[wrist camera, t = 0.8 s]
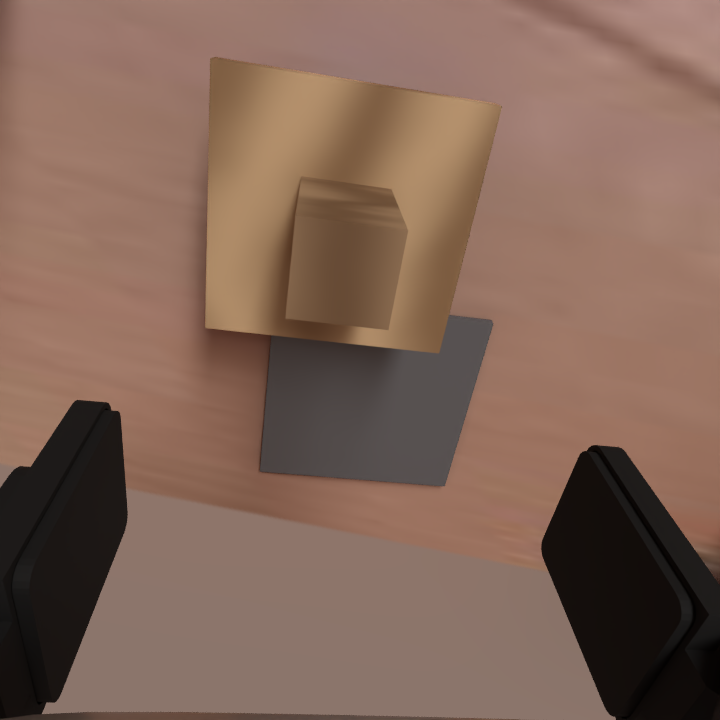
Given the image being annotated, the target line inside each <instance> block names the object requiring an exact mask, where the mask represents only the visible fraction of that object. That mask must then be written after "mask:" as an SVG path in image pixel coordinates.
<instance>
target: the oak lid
mask: <svg viewBox="0 0 720 720" xmlns="http://www.w3.org/2000/svg"><path fill="white" fill-rule="evenodd" d="M501 108H502V106H500V105H497V104H495V103H490V102H484V101H478V100H472V99H466V98H460V97H454V96H448V95H442V94H436V93H430V92H424V91H418V90H412V89H406V88H399V87H393V86H387V85H381V84H375V83H369V82H363V81H357V80H351V79H345V78H339V77H333V76H327V75H321V74H315V73H309V72H303V71H297V70H291V69H285V68H279V67H273V66H267V65H261V64H255V63H249V62H243V61H237V60H230V59H224V58H218V57H214V58H210V103H209V154H208V206H207V257H206V308H205V328H210V329H219V330H228V331H238V332H247V333H256V334H265V335H274V336H283V337H293V338H302V339H311V340H320V341H329V342H338V343H348V344H357V345H366V346H375V347H384V348H393V349H403V350H412V351H421V352H430V353H439V352H440V348H441V344H442V340H443V336H444V333H445V329H446V325H447V321H448V317H449V313H450V309H451V305H452V301H453V297H454V293H455V289H456V285H457V281H458V277H459V274H460V270H461V266H462V262H463V258H464V254H465V250H466V246H467V242H468V238H469V234H470V230H471V226H472V222H473V218H474V215H475V211H476V207H477V203H478V199H479V195H480V191H481V187H482V183H483V179H484V175H485V171H486V167H487V163H488V159H489V156H490V152H491V148H492V144H493V140H494V136H495V132H496V128H497V124H498V120H499V116H500V112H501Z"/></svg>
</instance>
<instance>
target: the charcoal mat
mask: <svg viewBox="0 0 720 720" xmlns="http://www.w3.org/2000/svg"><path fill="white" fill-rule="evenodd" d="M492 326H493V322H492V320H486V319H477V318H469V317H460V316H452V315H449V317H448V321H447V325H446V329H445V333H444V336H443V340H442V344H441V348H440V352H439V353H430V352H421V351H412V350H403V349H393V348H384V347H375V346H366V345H357V344H348V343H338V342H329V341H320V340H311V339H302V338H293V337H283V336H274V335H271V346H270V358H269V370H268V381H267V393H266V405H265V417H264V429H263V440H262V452H261V464H260V472H272V473H284V474H297V475H309V476H322V477H334V478H347V479H359V480H372V481H384V482H396V483H409V484H421V485H434V486H445V483H446V480H447V477H448V473H449V470H450V467H451V463H452V460H453V457H454V453H455V450H456V447H457V443H458V440H459V437H460V433H461V430H462V426H463V423H464V420H465V416H466V413H467V410H468V406H469V403H470V400H471V396H472V393H473V390H474V386H475V383H476V380H477V376H478V373H479V370H480V366H481V363H482V360H483V356H484V353H485V350H486V346H487V343H488V340H489V336H490V333H491V330H492Z"/></svg>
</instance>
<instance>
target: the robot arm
mask: <svg viewBox="0 0 720 720" xmlns="http://www.w3.org/2000/svg"><path fill="white" fill-rule="evenodd" d="M127 515H128V514H127V498H126V484H125V470H124V457H123V443H122V429H121V417H120V413H119V412H118V411H111V407H110V405H109V403H106V402H95V401H83V400H76V401H75V402H74V403H73V404H72V405H71V407H70V408H69V410H68V411H67V413H66V414H65V416H64V418H63V419H62V421H61V422H60V424H59V425H58V427H57V428H56V430H55V431H54V433H53V434H52V436H51V437H50V439H49V440H48V442H47V443H46V445H45V446H44V448H43V449H42V451H41V452H40V454H39V455H38V457H37V458H36V460H35V461H34V463H33V464H32V466H31V467H24V466H20V467H18V468H16V469H14V470H13V472H12V473H11V474H10V475H9V476H8V478H7V480H6V481H5V482H4V484H3V485H2V486H1V488H0V720H518V719H482V718H441V717H440V718H439V717H399V716H354V715H308V714H307V715H306V714H252V713H251V714H250V713H198V712H196V713H195V712H193V713H192V712H83V713H61V714H42V712H43V709H44V707H45V704H46V702H56V701H57V700H58V698H59V697H60V694H61V692H62V690H63V687H64V684H65V682H66V680H67V677H68V675H69V672H70V669H71V667H72V664H73V662H74V659H75V657H76V654H77V652H78V649H79V647H80V644H81V641H82V639H83V636H84V634H85V631H86V628H87V626H88V624H89V621H90V618H91V616H92V613H93V611H94V608H95V606H96V603H97V600H98V598H99V595H100V592H101V590H102V587H103V585H104V583H105V580H106V578H107V575H108V572H109V570H110V567H111V565H112V562H113V560H114V557H115V554H116V552H117V549H118V547H119V544H120V542H121V539H122V537H123V534H124V531H125V527H126V523H127ZM541 550H542V556H543V559H544V561H545V564H546V566H547V569H548V571H549V574H550V576H551V578H552V581H553V583H554V586H555V588H556V590H557V593H558V595H559V597H560V600H561V603H562V605H563V607H564V610H565V612H566V615H567V617H568V620H569V622H570V624H571V627H572V629H573V632H574V634H575V636H576V639H577V641H578V643H579V646H580V649H581V651H582V653H583V656H584V658H585V661H586V663H587V666H588V668H589V670H590V672H591V675H592V678H593V680H594V682H595V684H596V687H597V690H598V692H599V695H600V697H601V699H602V702H603V704H604V706H605V708H606V710H607V712H608V713H609V714H610V715H611V716H615V717H616V720H720V585H719V584H718V582H717V581H716V579H715V578H714V577H713V575H712V574H711V572H710V571H709V569H708V568H707V567H706V565H705V564H704V562H703V561H702V560H701V558H700V557H699V555H698V554H697V552H696V551H695V550H694V548H693V547H692V545H691V544H690V543H689V541H688V540H687V538H686V537H685V536H684V534H683V533H682V531H681V530H680V528H679V527H678V526H677V524H676V523H675V521H674V520H673V519H672V517H671V516H670V514H669V513H668V512H667V510H666V509H665V507H664V506H663V504H662V503H661V502H660V500H659V499H658V497H657V496H656V495H655V493H654V492H653V490H652V489H651V488H650V486H649V485H648V483H647V482H646V480H645V479H644V478H643V476H642V475H641V473H640V472H639V471H638V469H637V468H636V466H635V465H634V464H633V462H632V461H631V459H630V458H629V456H628V455H627V454H626V452H625V451H624V450H623V449H622V448H619V447H610V446H598V445H593V446H591V447H590V448H588V450H587V451H584V452H582V453H581V454H580V455H579V457H578V460H577V462H576V464H575V466H574V469H573V471H572V473H571V476H570V478H569V480H568V482H567V485H566V487H565V489H564V492H563V494H562V496H561V498H560V501H559V503H558V505H557V508H556V510H555V512H554V515H553V517H552V519H551V521H550V524H549V526H548V528H547V531H546V533H545V535H544V537H543V540H542V546H541Z"/></svg>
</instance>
